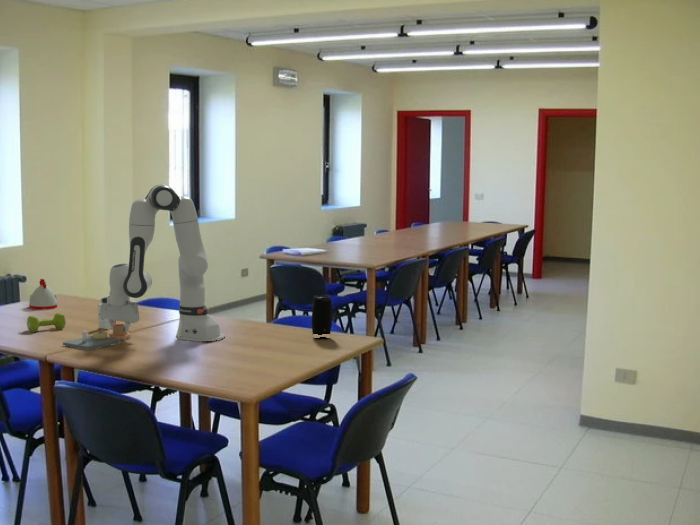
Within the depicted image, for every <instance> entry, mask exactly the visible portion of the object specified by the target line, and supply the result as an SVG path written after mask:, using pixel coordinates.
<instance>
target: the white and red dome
mask: <svg viewBox="0 0 700 525" xmlns="http://www.w3.org/2000/svg"><path fill="white" fill-rule="evenodd" d="M28 308H29V309H31V310H40V311H41V310H43V311H44V310H53V309H57V308H58V299H57V294H56V293H54V291H53V289H51V288H50V287H49V286H48V285H47V284H46V281H45V279H44V278H40V279H39V285H38V286H37V287H36V288H35V289H34V291H33V292H32V294H30V296H29V304H28Z"/></svg>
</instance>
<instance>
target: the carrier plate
mask: <svg viewBox="0 0 700 525" xmlns="http://www.w3.org/2000/svg"><path fill="white" fill-rule="evenodd" d="M81 333H82V334H81V337H80V338H76V339H71V340H68V341H67V340H66V341H63V342H62V346H63V345H65V346H64V347H67V346H70V347H69V348H73V347H75V348H74V349H78V348H79V349H80V350H85V351H92V350H91V349H93V350H96V348H97V349H101V348H104V346H105V347H108V345H109V346H112V345H111V344H113V345H116V343H117V344H120V342H121V340H120V339H115V338H109V336H108V332H106V331H102V330H98V331H95V332H93V333H92V335H89V336H88V332H87V330H83V331H82V332H81ZM100 347H101V348H100Z"/></svg>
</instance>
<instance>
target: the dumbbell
mask: <svg viewBox="0 0 700 525" xmlns="http://www.w3.org/2000/svg"><path fill="white" fill-rule="evenodd" d="M66 323H67V321H66V317H65V314H64V313H61V312H56V313H55V314H54V316H53V318H45V319H44V318H43V319H39V318H38V317H37V316H36V315H29V316H28V317H27V320H26V327H27V329H28V331H29V332H30V333H35V332H38V330H39V327H47V326H54V328H56V329H58V330H64V328H65V326H66Z"/></svg>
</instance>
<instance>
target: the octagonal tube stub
mask: <svg viewBox="0 0 700 525" xmlns="http://www.w3.org/2000/svg"><path fill="white" fill-rule="evenodd" d="M125 326H126V324H125V323H116V324H115V325H113V330H112V332H111V333H109V332H108V334H109V335H108V337H109V338H115V339H121V340H128V339H131V333H130V332H129V331H128V332H124V328H125ZM127 338H128V339H127Z"/></svg>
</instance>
